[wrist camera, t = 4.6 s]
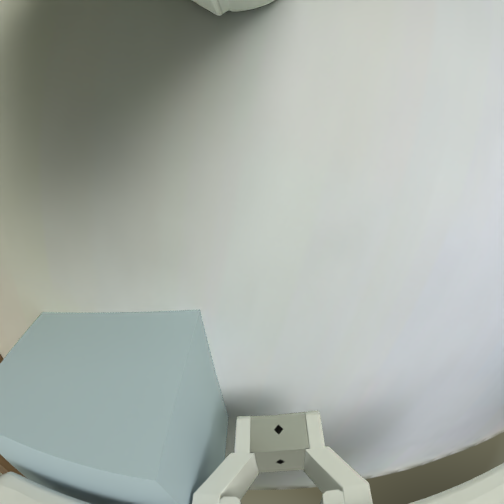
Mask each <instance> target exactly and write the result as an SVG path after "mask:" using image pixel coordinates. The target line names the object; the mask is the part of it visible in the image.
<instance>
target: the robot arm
mask: <svg viewBox="0 0 504 504" xmlns="http://www.w3.org/2000/svg"><path fill="white" fill-rule="evenodd" d="M294 470H304V472H305V473H306V474H307V475H308V476H309V478H310V479H311V480H312V481H313V482H314V484H315V485H316V486H317V487H318V488H319V489H320V490H321V492H322V493H323V495H322V499H321V502H320V504H373V502H372V497H371V492H370V487H369V483H368V482H367V481H366V480H365V479H364V478H363V477H361V476H360V475H359V474H358V473H357V472H356V471H355V470H354V469H353V468H351V467H350V466H349V465H348V464H347V463H346V462H345V461H344V460H343V459H342V458H341V457H340V456H339V455H338V454H336V453H335V452H334V451H333V450H332V449H331V448H330V447H329V446H328V447H325V443H324V437H323V430H322V424H321V418H320V413H319V411H310V412H299V413H289V414H279V415H266V416H237V420H236V431H235V446H234V453H230V454H229V455H228V456H227V457H226V458H225V460H224V461H223V462H222V463H221V464H220V465H219V466H218V468H217V469H216V470H215V471H214V472H213V473H212V474H211V475H210V476H209V478H208V479H207V480H206V481H205V482H204V483H203V484H202V485H201V486H200V487H199V488H198V489H197V491H196V492H195V493H194V494H193V501H192V504H242V503H241V501H240V500H241V498H242V497H243V496H244V494H245V493H246V492H247V490H248V489H249V488H250V486H251V485H252V483H253V482H254V480H255V479H256V477H257V476H258V475H259V473H263V472H277V471H294ZM0 504H91V503H88V502H85V501H82V500H79V499H76V498H73V497H71V496H68V495H65V494H62V493H60V492H57V491H55V490H52V489H50V488H47V487H45V486H43V485H40V484H38V483H36V482H34V481H31V480H29V479H27V478H25V477H23V476H21V475H19V474H17V473H14V472H7V473H4V474H2V475H0ZM409 504H504V463H503V464H501V465H499V466H497V467H495V468H493V469H492V470H490V471H488V472H486V473H484V474H482V475H480V476H478V477H476V478H473V479H471V480H469V481H467V482H465V483H462V484H460V485H458V486H456V487H453V488H451V489H448V490H446V491H443V492H441V493H438V494H436V495H433V496H430V497H428V498H425V499H422V500H418V501H415V502H413V503H409Z"/></svg>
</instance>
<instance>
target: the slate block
mask: <svg viewBox="0 0 504 504" xmlns="http://www.w3.org/2000/svg"><path fill="white" fill-rule="evenodd" d="M227 428H228V414H227V411H226V407H225V404H224V400H223V397H222V393H221V390H220V386H219V383H218V379H217V375H216V372H215V368H214V364H213V360H212V356H211V353H210V349H209V345H208V341H207V337H206V333H205V329H204V325H203V321H202V317H201V312H200V310H184V311H159V312H120V313H53V312H42V313H41V315H40V316H39V317H38V318H37V319H36V320H35V322H34V323H33V324H32V325H31V326H30V327H29V329H28V330H27V331H26V332H25V333H24V335H23V336H22V337H21V338H20V339H19V341H18V342H17V343H16V344H15V345H14V347H13V348H12V349H11V350H10V352H9V353H8V354H7V356H6V357H5V358H4V359H3V361H2V362H1V363H0V454H1V455H2V456H3V457H4V458H5V459H6V460H7V461H8V462H9V463H10V464H11V465H12V466H14V467H15V468H16V469H17V470H18V471H19V472H20V473H22V474H23V475H24V476H25V477H26V478H28V479H29V480H31V481H34V482H36V483H38V484H40V485H43V486H45V487H47V488H50V489H52V490H55V491H57V492H60V493H62V494H65V495H68V496H71V497H73V498H76V499H79V500H82V501H85V502H88V503H91V504H192V501H193V494H194V493H195V492H196V491H197V489H198V488H199V487H200V486H201V485H202V484H203V483H204V482H205V481H206V480H207V479H208V478H209V476H210V475H211V474H212V473H213V472H214V471H215V470H216V469H217V468H218V466H219V465H220V464H221V463H222V462H223V461H224V460H225V449H226V438H227Z"/></svg>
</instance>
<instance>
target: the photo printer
mask: <svg viewBox="0 0 504 504" xmlns="http://www.w3.org/2000/svg"><path fill="white" fill-rule="evenodd" d="M192 1H194V2H195V3H197V4H198V5H200V6H202V7H203V8H205V9H207V10H209V11H210V12H212V13H214V14H216V15H218V16H221V15H222V14H223V13H225V12H227V11H228V10H229V11H245V10H251V9H255V8H258V7H261V6H264V5H267V4H269V3H271V2H273V1H275V0H192Z"/></svg>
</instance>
